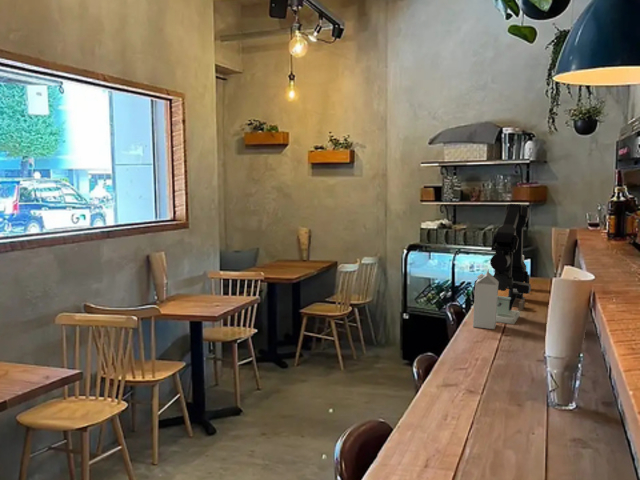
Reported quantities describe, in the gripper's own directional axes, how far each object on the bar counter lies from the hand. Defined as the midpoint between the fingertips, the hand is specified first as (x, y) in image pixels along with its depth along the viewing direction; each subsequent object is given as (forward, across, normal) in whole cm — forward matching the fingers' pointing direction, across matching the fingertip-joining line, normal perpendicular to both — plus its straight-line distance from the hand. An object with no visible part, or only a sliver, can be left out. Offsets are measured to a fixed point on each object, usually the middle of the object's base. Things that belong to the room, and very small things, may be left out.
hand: (500, 309), depth 217 cm
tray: (+3, 0, -1) cm, 3 cm away
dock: (+3, 0, +18) cm, 18 cm away
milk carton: (+3, -3, -14) cm, 15 cm away
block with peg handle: (+1, 0, -1) cm, 1 cm away
